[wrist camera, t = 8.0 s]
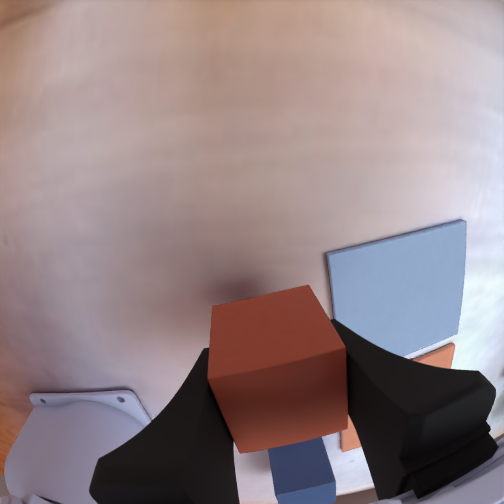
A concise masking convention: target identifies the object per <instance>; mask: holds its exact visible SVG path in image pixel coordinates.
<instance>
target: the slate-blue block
mask: <svg viewBox="0 0 504 504" xmlns="http://www.w3.org/2000/svg"><path fill="white" fill-rule="evenodd" d="M268 451H269V458H270V465H271V471H272V478H273V484H274V491H275V496H276V498H277V501H278V503H279V504H330V503H334V502H336V481H335V477H334V474H333V471H332V468H331V465H330V461H329V458H328V455H327V452H326V449H325V446H324V443H323V439H322V437H318V438H315V439H311V440H307V441H303V442H298V443H294V444H290V445H285V446H280V447H276V448H270V449H268Z"/></svg>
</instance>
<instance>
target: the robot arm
mask: <svg viewBox="0 0 504 504" xmlns="http://www.w3.org/2000/svg"><path fill="white" fill-rule="evenodd" d="M330 321H331V323H332V325H333V326H334V328H335V330H336V331H337V333H338V335H339V337H340V338H341V340H342V342H343V343H344V345H345V347H346V364H347V390H348V415H349V417H350V419H351V421H352V423H353V425H354V428H355V430H356V432H357V435H358V438H359V441H360V443H361V446H362V449H363V452H364V455H365V458H366V461H367V464H368V467H369V470H370V473H371V476H372V480H373V483H374V486H375V490H376V493H377V497H378V500H379V501H376V502H373V503H369V504H504V437H503V438H502V439H501V440H499V441H498V442H495V441H494V439H493V438H492V437H491V435H490V434H489V433H488V432H490V430H491V428H490V426H489V425H488V423H487V422H486V420H487V418H488V415H489V413H490V411H491V409H492V406H493V404H494V401H495V397H496V389H495V388H494V386H493V385H492V384H491V383H490V382H489V381H488V380H487V378H486V377H485V376H484V375H482V374H481V373H480V372H479V371H473V370H456V369H448V368H442V367H436V366H432V365H427V364H423V363H420V362H416V361H413V360H410V359H407V358H404V357H401V356H399V355H396V354H394V353H391V352H389V351H387V350H385V349H383V348H381V347H379V346H377V345H375V344H373V343H371V342H370V341H368V340H366V339H365V338H363V337H361V336H360V335H358V334H357V333H355V332H354V331H352V330H351V329H349V328H348V327H346V326H345V325H343V324H342V323H340V322H339V321H337V320H336V319H332V320H330ZM208 360H209V348H204V349H203V351H202V352H201V354H200V356H199V358H198V359H197V361H196V363H195V365H194V366H193V368H192V370H191V372H190V373H189V375H188V376H187V378H186V380H185V381H184V383H183V384H182V386H181V387H180V389H179V390H178V391H177V393H176V394H175V396H174V397H173V398H172V400H171V401H170V402H169V403H168V405H167V406H166V407H165V408H164V409H163V410H162V411H161V412H160V414H159V415H158V416H157V417H156V418H154V419H153V420H152V421H151V420H150V418H149V417H148V415H147V413H146V412H145V410H144V408H143V407H142V405H141V403H140V402H139V400H138V398H137V397H136V395H135V394H134V393H133V392H132V391H129V390H119V391H105V392H85V393H31V395H30V397H29V399H30V401H31V402H32V404H33V405H34V406H35V407H34V408H33V410H32V412H31V413H30V415H29V417H28V419H27V420H26V422H25V424H24V426H23V427H22V429H21V431H20V433H19V435H18V436H17V438H16V440H15V442H14V444H13V446H12V448H11V449H10V451H9V453H8V455H7V458H6V462H5V469H4V473H5V482H6V485H7V488H8V491H9V492H10V494H11V495H10V496H3V497H1V498H0V504H240V503H239V496H238V489H237V482H236V474H235V465H234V451H233V443H234V440H233V438H232V436H231V433H230V431H229V429H228V427H227V424H226V422H225V420H224V417H223V415H222V413H221V410H220V408H219V406H218V403H217V401H216V399H215V396H214V394H213V391H212V389H211V386H210V384H209V381H208V379H207V377H208ZM121 397H122V398H121Z"/></svg>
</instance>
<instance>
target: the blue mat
mask: <svg viewBox="0 0 504 504" xmlns="http://www.w3.org/2000/svg"><path fill="white" fill-rule="evenodd" d="M326 255H327V262H328V270H329V278H330V287H331V296H332V305H333V315H334V319H336V320H337V321H339V322H340V323H342V324H343V325H345V326H346V327H348V328H349V329H351V330H352V331H354V332H355V333H357V334H358V335H360V336H361V337H363V338H365V339H366V340H368V341H370V342H371V343H373V344H375V345H377V346H379V347H381V348H383V349H385V350H387V351H389V352H391V353H394V354H396V355H399V356H401V357H402V356H404V355H407V354H410V353H412V352H415V351H418V350H420V349H423V348H425V347H428V346H430V345H432V344H435V343H437V342H440V341H442V340H444V339H447V338H449V337H451V336H453V335H456V334H457V333H458V327H459V320H460V313H461V305H462V297H463V287H464V275H465V260H466V221H465V220H459V221H456V222H452V223H448V224H444V225H440V226H436V227H432V228H428V229H424V230H420V231H416V232H412V233H408V234H404V235H400V236H396V237H391V238H387V239H383V240H379V241H375V242H371V243H367V244H363V245H358V246H354V247H350V248H346V249H342V250H337V251H333V252H329V253H327V254H326Z"/></svg>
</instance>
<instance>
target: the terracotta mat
mask: <svg viewBox="0 0 504 504" xmlns="http://www.w3.org/2000/svg"><path fill="white" fill-rule="evenodd" d="M454 350H455V344H454V343H451V344H448V345H446V346H444V347H442V348H439V349H437V350H435V351H432V352H430V353H428V354H425V355H423V356H420V357H418V358H415V359H413V361H416V362H420V363H423V364H427V365H432V366H436V367H442V368H448V369H451V365H452V360H453V355H454ZM358 447H361V443H360V441H359V438H358V435H357V432H356V430H355V428H354V425H353V423H352V421H351V419H350V417H349V415H348V429H346V430H343V431H341V450H342V452H345V451H349V450H352V449H355V448H358Z"/></svg>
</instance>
